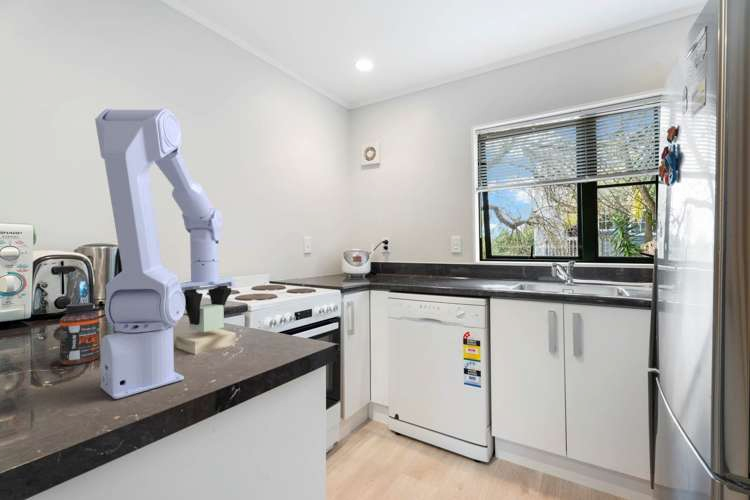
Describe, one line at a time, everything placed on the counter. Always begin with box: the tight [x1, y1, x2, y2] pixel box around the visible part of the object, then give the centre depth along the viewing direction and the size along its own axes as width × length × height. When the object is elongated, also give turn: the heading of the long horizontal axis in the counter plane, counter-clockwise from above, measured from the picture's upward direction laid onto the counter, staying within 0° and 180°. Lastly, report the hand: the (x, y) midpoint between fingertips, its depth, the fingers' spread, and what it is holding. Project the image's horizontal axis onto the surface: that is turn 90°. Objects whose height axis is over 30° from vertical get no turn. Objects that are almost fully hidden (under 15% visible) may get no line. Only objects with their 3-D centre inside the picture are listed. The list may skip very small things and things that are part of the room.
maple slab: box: [176, 328, 237, 355], centre depth 77 cm, size 9×9×3 cm
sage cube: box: [188, 303, 225, 332], centre depth 77 cm, size 5×5×5 cm
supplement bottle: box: [59, 302, 101, 366], centre depth 68 cm, size 6×6×11 cm
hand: (206, 321), depth 77 cm, fingers closed on sage cube, 5 cm apart
